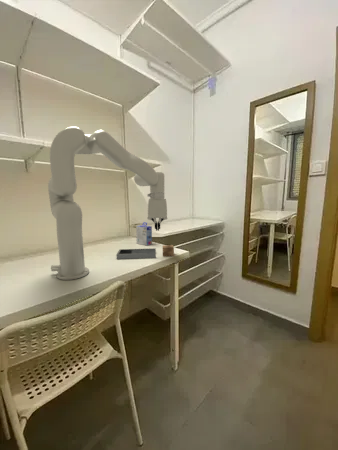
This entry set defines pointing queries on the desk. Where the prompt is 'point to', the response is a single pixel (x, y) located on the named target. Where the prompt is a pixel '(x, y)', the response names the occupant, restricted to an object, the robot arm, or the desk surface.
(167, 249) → the walnut block
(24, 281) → the desk surface
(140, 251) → the dark grey tray
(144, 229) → the ink cartridge box
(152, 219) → the robot arm
